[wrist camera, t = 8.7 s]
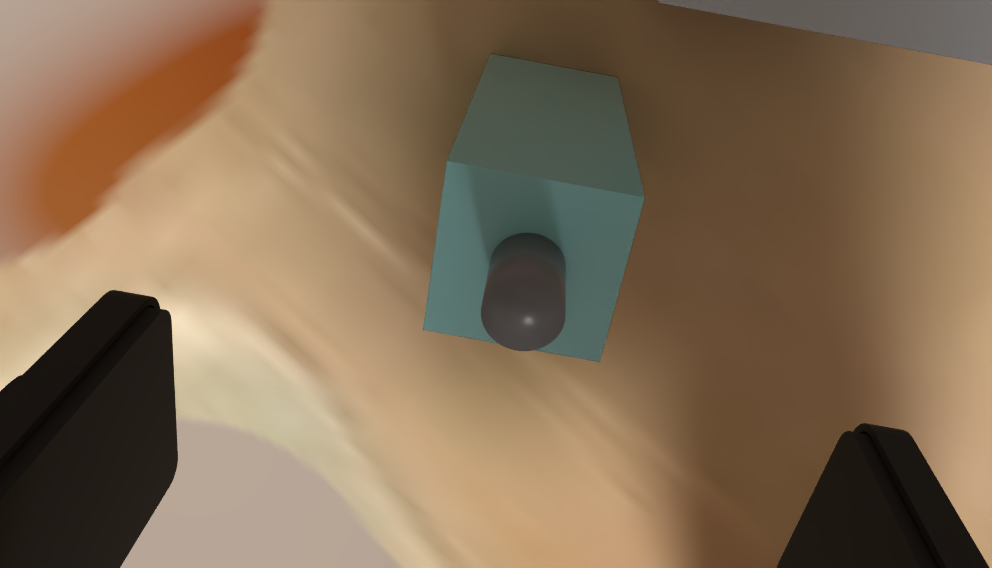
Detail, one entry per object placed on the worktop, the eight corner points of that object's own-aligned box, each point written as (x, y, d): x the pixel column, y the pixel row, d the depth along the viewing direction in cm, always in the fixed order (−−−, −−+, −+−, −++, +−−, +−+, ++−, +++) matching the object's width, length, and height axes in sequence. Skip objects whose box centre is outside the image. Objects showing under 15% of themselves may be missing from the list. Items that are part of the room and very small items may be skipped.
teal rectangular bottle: (589, 195, 26) (603, 417, 16) (471, 173, 26) (407, 381, 16) (617, 77, 25) (654, 239, 14) (490, 54, 25) (431, 198, 14)
